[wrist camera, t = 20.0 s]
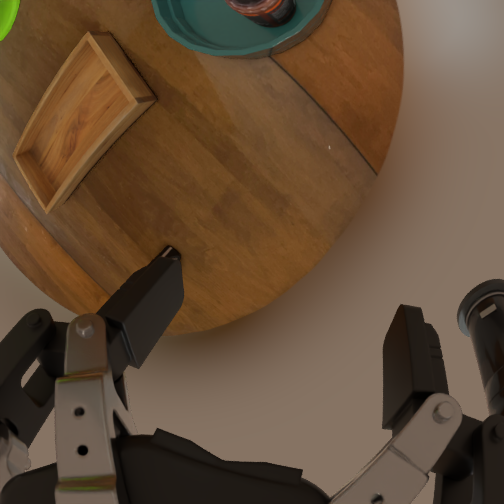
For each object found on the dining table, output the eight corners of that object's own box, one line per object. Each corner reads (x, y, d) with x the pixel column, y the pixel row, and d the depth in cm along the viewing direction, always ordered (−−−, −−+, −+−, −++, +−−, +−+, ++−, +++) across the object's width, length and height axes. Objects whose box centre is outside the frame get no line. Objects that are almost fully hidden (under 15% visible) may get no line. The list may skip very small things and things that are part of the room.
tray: (111, 31, 33) (85, 30, 29) (159, 99, 38) (136, 103, 33) (31, 147, 48) (11, 155, 44) (66, 202, 53) (46, 215, 48)
